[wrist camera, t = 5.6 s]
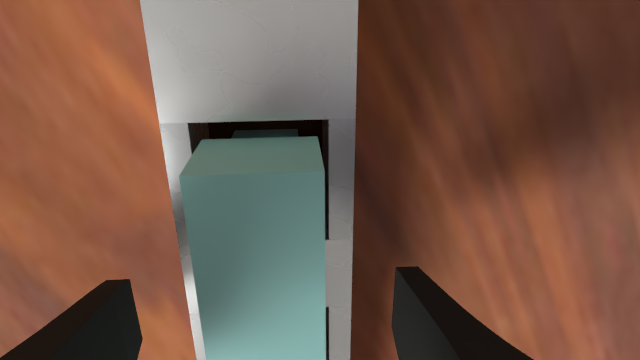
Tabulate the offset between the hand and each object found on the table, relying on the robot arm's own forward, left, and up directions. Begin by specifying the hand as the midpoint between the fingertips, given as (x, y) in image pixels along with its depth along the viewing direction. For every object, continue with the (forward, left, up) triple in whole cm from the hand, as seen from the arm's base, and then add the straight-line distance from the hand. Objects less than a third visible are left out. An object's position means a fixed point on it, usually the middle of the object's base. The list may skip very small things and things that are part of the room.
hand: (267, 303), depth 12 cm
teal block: (0, 0, -4) cm, 4 cm away
